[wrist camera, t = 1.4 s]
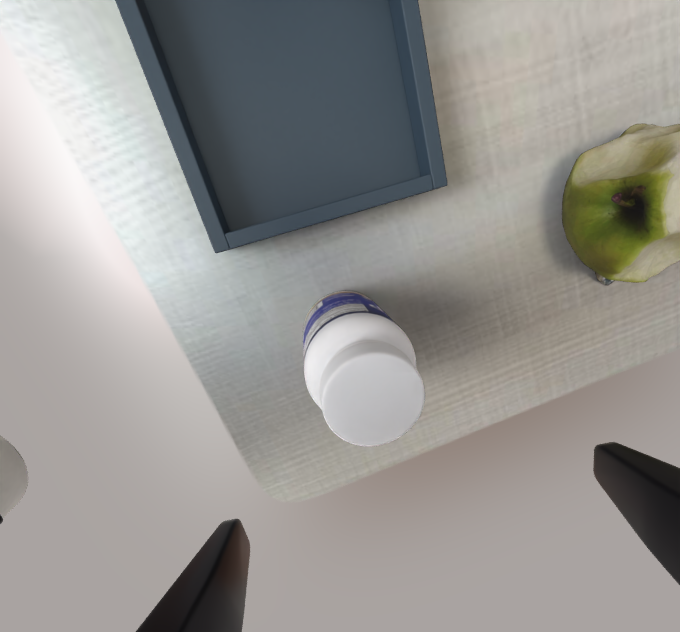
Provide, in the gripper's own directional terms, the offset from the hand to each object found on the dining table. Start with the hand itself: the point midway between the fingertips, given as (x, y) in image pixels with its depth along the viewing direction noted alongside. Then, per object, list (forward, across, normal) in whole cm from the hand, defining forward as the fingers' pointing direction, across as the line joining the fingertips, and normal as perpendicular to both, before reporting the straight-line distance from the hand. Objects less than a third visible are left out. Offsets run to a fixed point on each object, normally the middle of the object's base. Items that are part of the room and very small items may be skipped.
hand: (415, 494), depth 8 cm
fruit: (+15, -16, -4) cm, 22 cm away
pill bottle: (+13, +1, 0) cm, 13 cm away
